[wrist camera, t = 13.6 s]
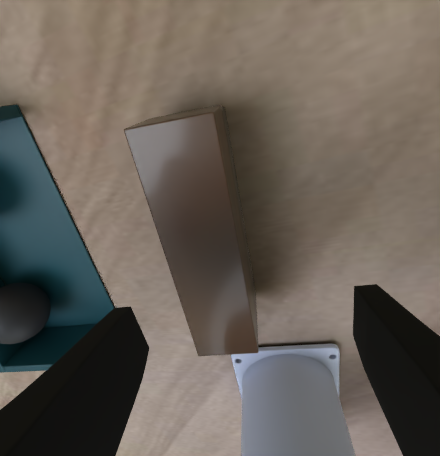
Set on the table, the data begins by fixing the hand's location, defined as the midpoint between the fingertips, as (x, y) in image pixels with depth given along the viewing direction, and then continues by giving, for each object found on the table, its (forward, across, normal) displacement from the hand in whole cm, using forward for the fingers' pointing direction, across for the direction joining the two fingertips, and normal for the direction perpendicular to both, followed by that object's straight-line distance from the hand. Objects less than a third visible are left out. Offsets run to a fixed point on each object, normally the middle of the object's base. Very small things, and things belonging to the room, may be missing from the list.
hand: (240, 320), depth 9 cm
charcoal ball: (+6, +16, +4) cm, 18 cm away
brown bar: (+8, +2, 0) cm, 8 cm away
